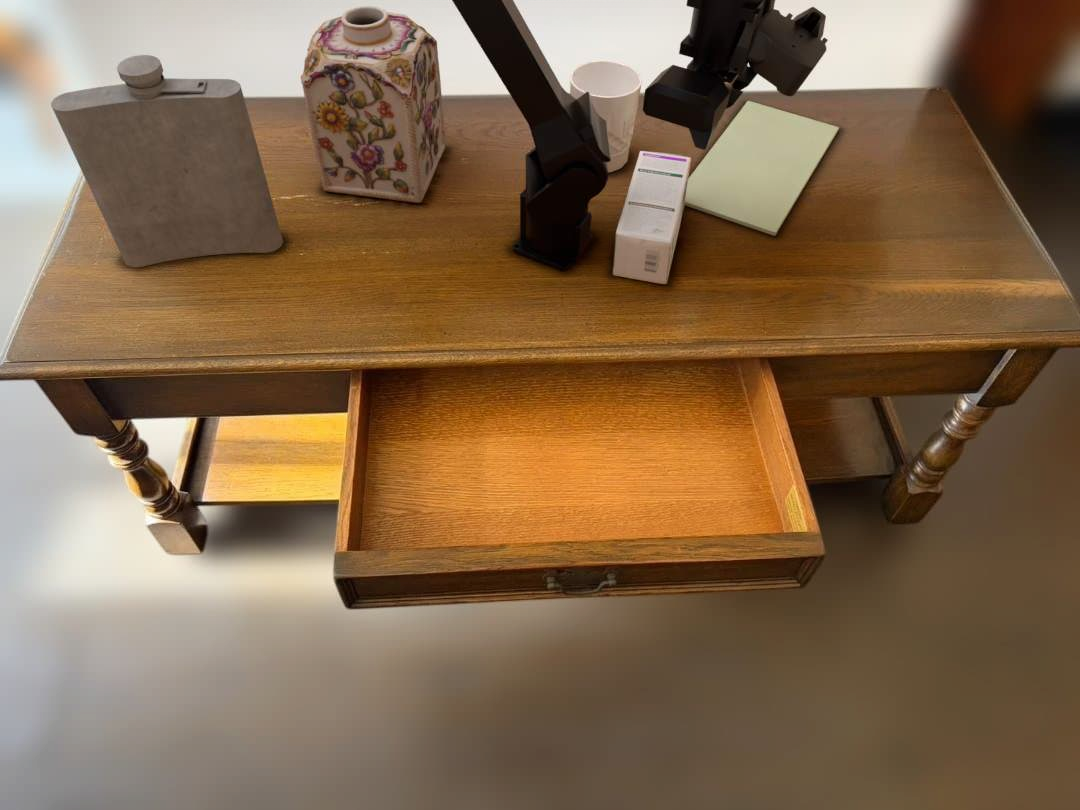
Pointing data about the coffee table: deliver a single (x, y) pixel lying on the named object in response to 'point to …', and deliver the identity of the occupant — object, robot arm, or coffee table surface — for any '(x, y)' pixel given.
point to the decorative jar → (374, 104)
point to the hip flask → (171, 164)
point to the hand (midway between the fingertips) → (701, 146)
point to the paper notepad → (759, 167)
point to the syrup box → (651, 217)
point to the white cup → (611, 101)
